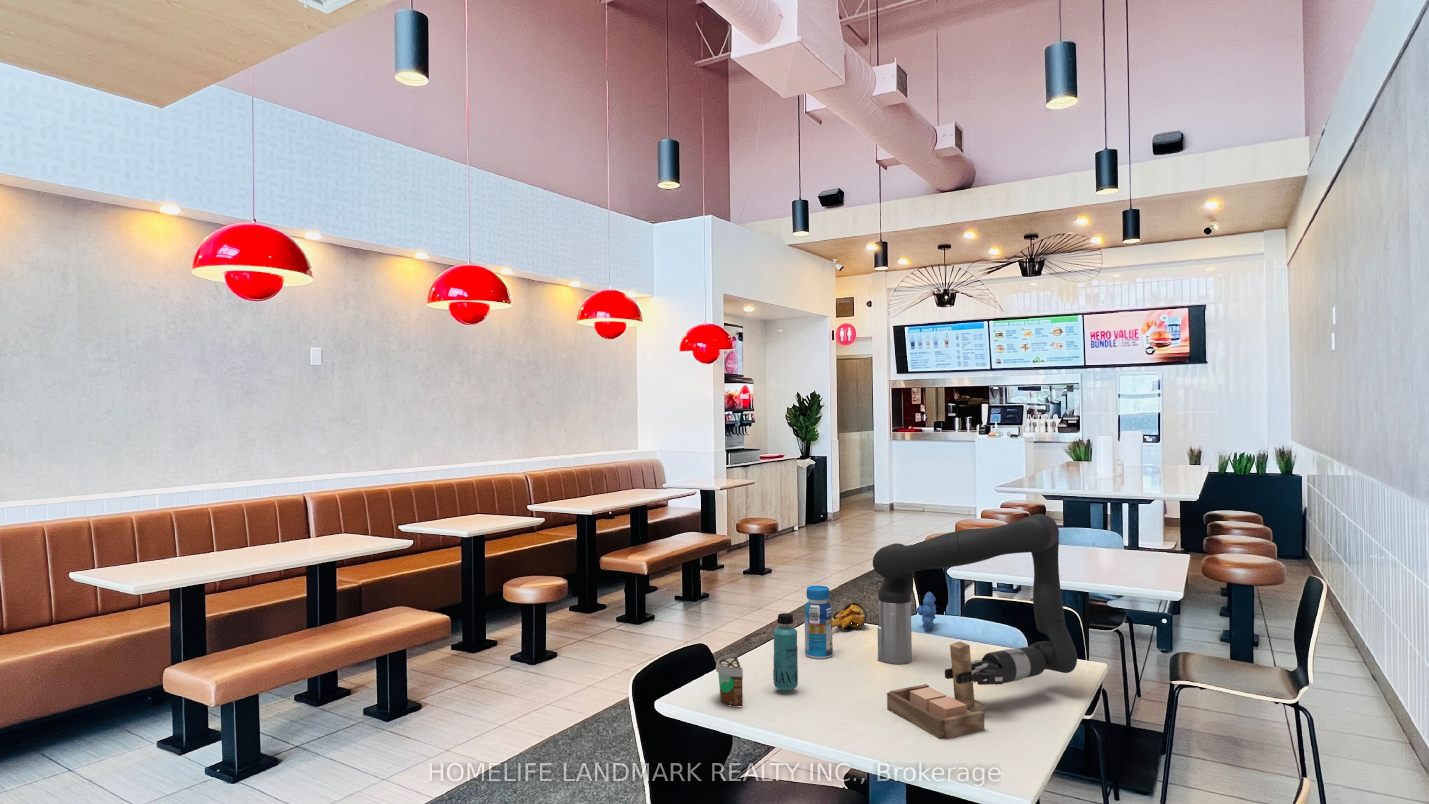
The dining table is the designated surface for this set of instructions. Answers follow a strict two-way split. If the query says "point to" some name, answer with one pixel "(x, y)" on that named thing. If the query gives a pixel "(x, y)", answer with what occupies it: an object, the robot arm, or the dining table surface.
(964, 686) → the wooden post on base
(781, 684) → the beverage bottle
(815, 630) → the beverage bottle
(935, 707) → the salmon pink block
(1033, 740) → the dining table surface
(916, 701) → the tile
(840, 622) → the fried shrimp in bowl
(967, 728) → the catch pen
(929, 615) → the grapes
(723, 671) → the food container
